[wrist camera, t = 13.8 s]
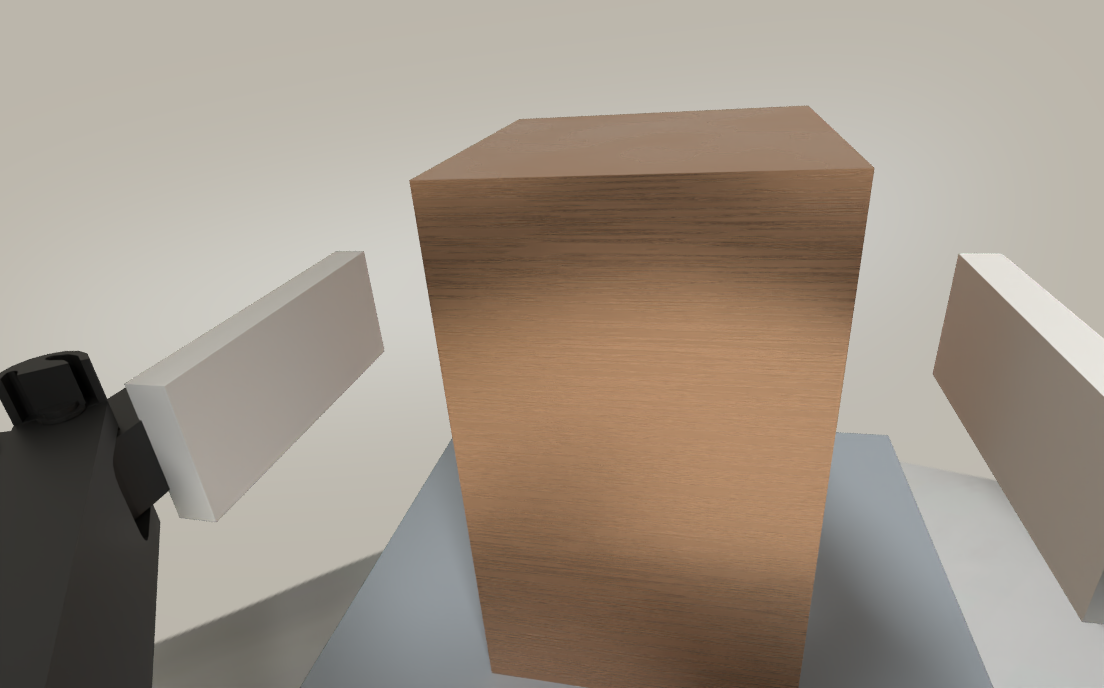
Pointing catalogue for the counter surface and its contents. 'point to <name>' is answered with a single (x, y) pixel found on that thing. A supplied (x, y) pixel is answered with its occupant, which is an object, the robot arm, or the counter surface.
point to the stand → (468, 684)
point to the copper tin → (646, 384)
